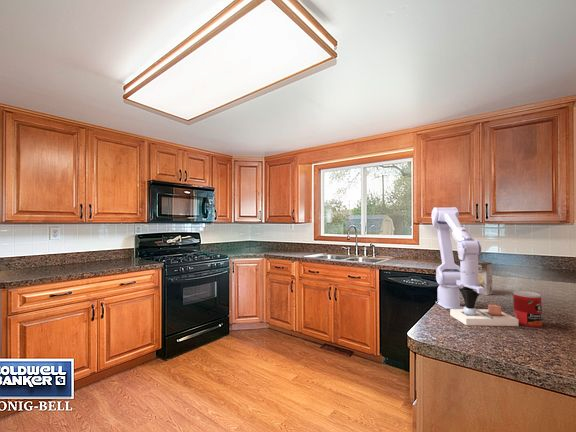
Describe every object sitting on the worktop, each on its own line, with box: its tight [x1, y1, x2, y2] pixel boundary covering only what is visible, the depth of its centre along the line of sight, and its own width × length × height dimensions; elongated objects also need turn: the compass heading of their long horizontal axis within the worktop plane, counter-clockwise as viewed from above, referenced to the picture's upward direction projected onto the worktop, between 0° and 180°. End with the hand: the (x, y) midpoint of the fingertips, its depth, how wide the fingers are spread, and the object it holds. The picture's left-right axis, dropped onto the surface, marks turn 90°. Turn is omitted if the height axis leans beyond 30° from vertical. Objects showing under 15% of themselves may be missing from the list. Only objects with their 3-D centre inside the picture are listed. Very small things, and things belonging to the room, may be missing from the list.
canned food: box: [512, 290, 543, 328], centre depth 102 cm, size 8×8×11 cm
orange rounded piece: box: [487, 303, 502, 316], centre depth 105 cm, size 4×4×4 cm
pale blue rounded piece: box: [463, 305, 477, 316], centre depth 106 cm, size 4×4×4 cm
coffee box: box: [478, 260, 493, 296], centre depth 146 cm, size 9×6×16 cm
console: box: [449, 308, 520, 327], centre depth 106 cm, size 11×18×3 cm, turn 87°
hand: (469, 308), depth 106 cm, fingers closed, pressing on pale blue rounded piece
